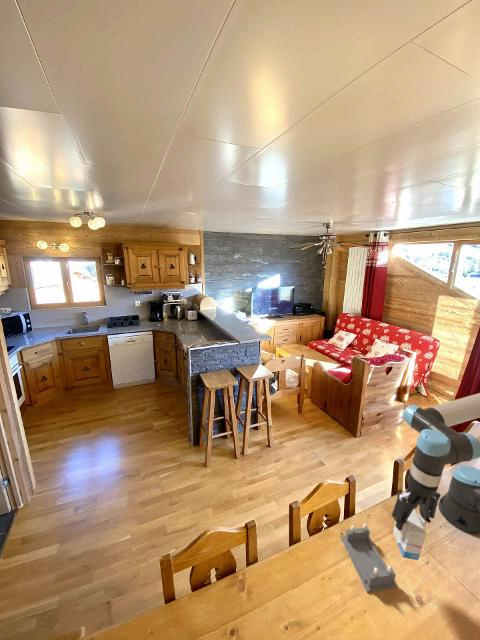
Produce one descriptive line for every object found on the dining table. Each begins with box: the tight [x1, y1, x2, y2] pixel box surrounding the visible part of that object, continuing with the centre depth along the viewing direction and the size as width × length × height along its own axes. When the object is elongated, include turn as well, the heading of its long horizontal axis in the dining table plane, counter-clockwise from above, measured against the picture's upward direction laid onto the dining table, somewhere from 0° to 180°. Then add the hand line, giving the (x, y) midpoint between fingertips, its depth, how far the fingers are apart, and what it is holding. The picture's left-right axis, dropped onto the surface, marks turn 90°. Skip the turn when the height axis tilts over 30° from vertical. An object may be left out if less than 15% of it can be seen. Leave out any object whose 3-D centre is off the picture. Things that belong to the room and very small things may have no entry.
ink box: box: [392, 508, 427, 561], centre depth 87 cm, size 9×5×12 cm, turn 171°
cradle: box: [340, 523, 398, 593], centre depth 95 cm, size 11×17×8 cm, turn 8°
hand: (408, 534), depth 87 cm, fingers closed on ink box, 6 cm apart
